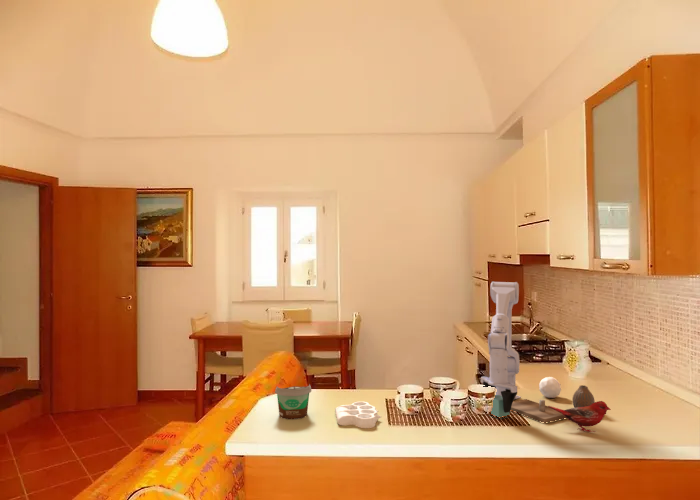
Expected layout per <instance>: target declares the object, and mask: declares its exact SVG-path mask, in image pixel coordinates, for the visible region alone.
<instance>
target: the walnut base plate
mask: <svg viewBox="0 0 700 500" xmlns="http://www.w3.org/2000/svg"><path fill="white" fill-rule="evenodd" d="M538 400H539V401H538V402H537V401H533V400H530V399H519V400H515V401H513V403H512V406H511V410H513V411H516V412H518V413H520V414H523V415H525V416H528V417H530V418H533V419H535V420H534V421H536V420H538V421H541V422H544V423H546V422H550V421H555V420H559V419H563V420H565V419H564V418H566V417H565V416H564V415H563V414H562V413H560V412H558V411H556V410H554V409H552V408H550V407H548V406H549V405H546V400H544V399H538ZM525 416H524V417H525ZM528 417H527V418H528ZM530 418H529V419H530ZM533 419H532V420H533ZM538 421H537V422H538ZM559 421H560V420H559ZM541 422H540V423H541ZM555 422H556V421H555ZM544 423H543V424H544ZM550 423H551V422H550ZM546 424H547V423H546Z"/></svg>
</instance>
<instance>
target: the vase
mask: <svg viewBox="0 0 700 500" xmlns="http://www.w3.org/2000/svg"><path fill="white" fill-rule="evenodd" d="M594 402H596V401H595V397H594V394H592V392H591V391H590V389H589V388H588V386H587V385H584V384H583V385H579V386H578V388H577V389H576V390H575V392H574V393H573V395H572V406H573V408H577V407H586V406H590V405H591V404H593V403H594Z"/></svg>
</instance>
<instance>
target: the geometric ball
mask: <svg viewBox="0 0 700 500" xmlns="http://www.w3.org/2000/svg"><path fill="white" fill-rule="evenodd" d="M538 388H539V391H540V393H541V394H542V396H543V397H546V398H547V399H550V398H551V399H554V398H556V397H558V396H560V394H561V391H562V386H561V382H559V380H558V379H556V378H555V377H553V376H546V377H544V378H542V379H541V380H540V381H539V384H538Z"/></svg>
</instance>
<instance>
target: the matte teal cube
mask: <svg viewBox="0 0 700 500" xmlns="http://www.w3.org/2000/svg"><path fill="white" fill-rule="evenodd" d="M510 413H511V411H510V412H507V413H505V412H504V407H503V398H502V396H501V395H495V398H494V400H493V408H492V411H491V414H493V415H495V416H497V417H502V416H507V415H510Z"/></svg>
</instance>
